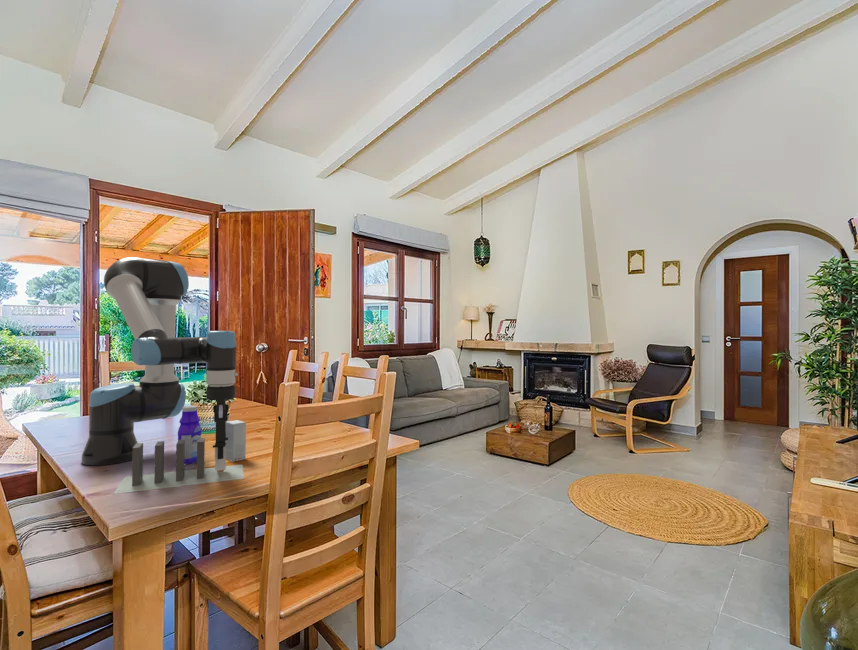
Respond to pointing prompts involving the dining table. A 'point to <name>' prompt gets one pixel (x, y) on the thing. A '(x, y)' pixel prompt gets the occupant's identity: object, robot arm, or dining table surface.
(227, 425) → the skincare box
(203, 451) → the domino
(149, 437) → the dining table surface
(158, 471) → the domino
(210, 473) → the mat
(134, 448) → the domino
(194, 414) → the bottle
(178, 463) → the domino
